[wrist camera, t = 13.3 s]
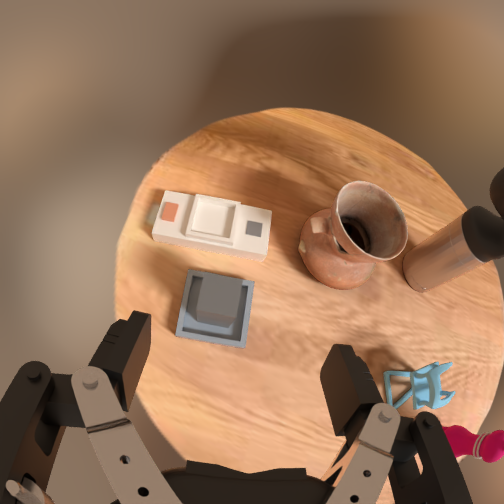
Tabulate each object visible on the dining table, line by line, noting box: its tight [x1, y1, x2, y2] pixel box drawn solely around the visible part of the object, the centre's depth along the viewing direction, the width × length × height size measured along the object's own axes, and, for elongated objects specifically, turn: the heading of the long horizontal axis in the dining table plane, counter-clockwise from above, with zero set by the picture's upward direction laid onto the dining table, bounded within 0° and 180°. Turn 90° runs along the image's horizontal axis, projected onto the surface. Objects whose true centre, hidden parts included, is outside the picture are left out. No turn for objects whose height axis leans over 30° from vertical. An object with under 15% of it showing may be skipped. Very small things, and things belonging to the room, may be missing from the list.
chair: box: [383, 362, 455, 410], centre depth 37 cm, size 8×8×12 cm
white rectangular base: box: [152, 190, 272, 262], centre depth 45 cm, size 18×8×4 cm, turn 82°
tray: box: [175, 269, 254, 348], centre depth 41 cm, size 10×10×2 cm
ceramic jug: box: [298, 181, 408, 290], centre depth 43 cm, size 18×14×14 cm
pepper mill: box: [442, 425, 504, 463], centre depth 29 cm, size 7×7×20 cm
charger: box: [196, 272, 243, 328], centre depth 37 cm, size 5×5×10 cm
